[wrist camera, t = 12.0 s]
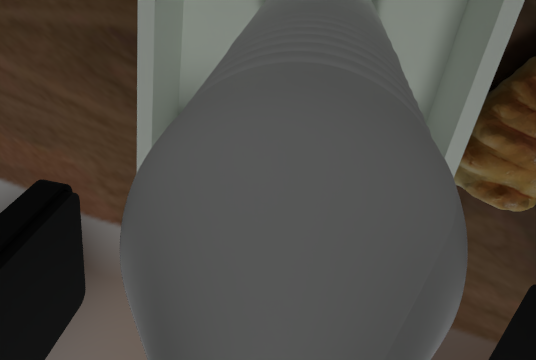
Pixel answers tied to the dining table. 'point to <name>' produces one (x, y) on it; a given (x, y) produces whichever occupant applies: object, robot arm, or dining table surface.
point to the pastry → (504, 145)
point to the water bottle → (296, 204)
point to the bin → (398, 31)
